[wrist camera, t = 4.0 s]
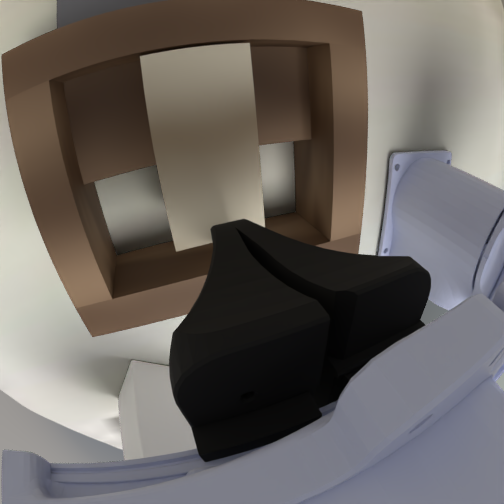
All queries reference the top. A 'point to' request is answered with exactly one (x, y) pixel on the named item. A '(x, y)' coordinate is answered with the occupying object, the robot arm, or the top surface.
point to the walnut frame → (141, 147)
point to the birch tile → (204, 138)
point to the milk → (151, 414)
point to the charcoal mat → (90, 8)
